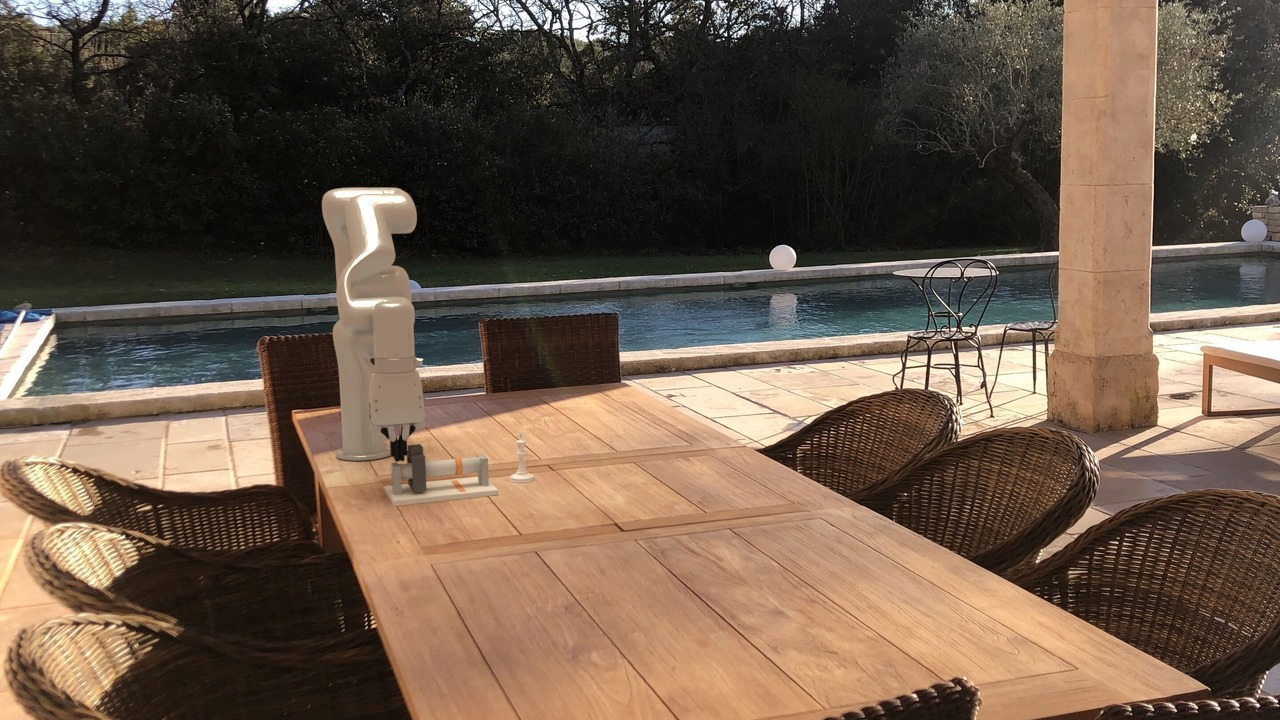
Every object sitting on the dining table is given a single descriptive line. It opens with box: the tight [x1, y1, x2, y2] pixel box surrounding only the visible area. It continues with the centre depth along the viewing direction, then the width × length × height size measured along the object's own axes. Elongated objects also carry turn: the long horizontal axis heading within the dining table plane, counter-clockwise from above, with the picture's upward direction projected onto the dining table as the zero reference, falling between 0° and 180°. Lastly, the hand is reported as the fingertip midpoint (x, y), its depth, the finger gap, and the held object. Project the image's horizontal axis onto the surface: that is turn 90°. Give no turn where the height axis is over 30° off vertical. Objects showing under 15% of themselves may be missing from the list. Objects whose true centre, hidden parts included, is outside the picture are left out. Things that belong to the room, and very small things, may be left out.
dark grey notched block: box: [406, 443, 427, 492], centre depth 218 cm, size 2×7×8 cm, turn 21°
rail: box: [384, 454, 499, 507], centre depth 220 cm, size 20×12×7 cm, turn 111°
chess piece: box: [509, 431, 535, 484], centre depth 229 cm, size 5×5×10 cm
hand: (399, 459), depth 216 cm, fingers closed
